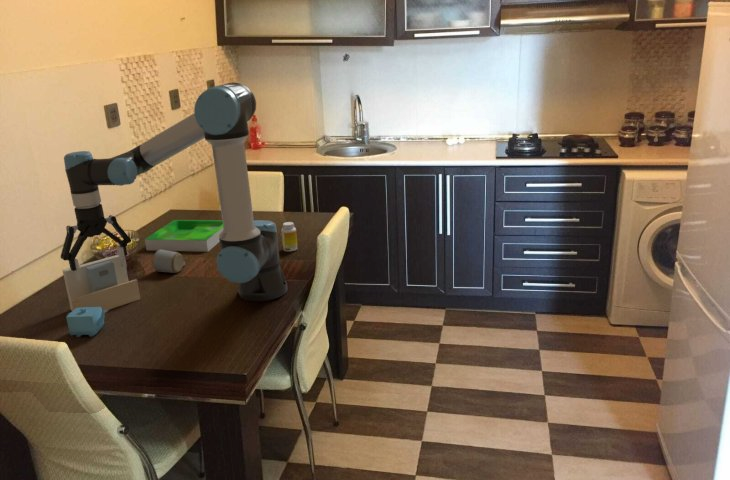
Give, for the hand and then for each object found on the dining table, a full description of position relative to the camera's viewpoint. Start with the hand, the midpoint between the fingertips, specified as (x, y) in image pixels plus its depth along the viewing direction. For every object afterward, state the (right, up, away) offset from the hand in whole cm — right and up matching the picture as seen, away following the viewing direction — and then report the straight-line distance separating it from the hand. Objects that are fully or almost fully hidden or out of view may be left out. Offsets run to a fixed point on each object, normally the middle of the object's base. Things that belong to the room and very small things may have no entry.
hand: (102, 273), depth 188 cm
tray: (+10, +9, +60) cm, 62 cm away
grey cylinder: (+12, -1, +30) cm, 32 cm away
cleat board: (-1, -10, +4) cm, 11 cm away
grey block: (0, -7, +3) cm, 8 cm away
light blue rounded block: (+3, -16, -14) cm, 21 cm away
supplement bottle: (+52, +6, +45) cm, 69 cm away
